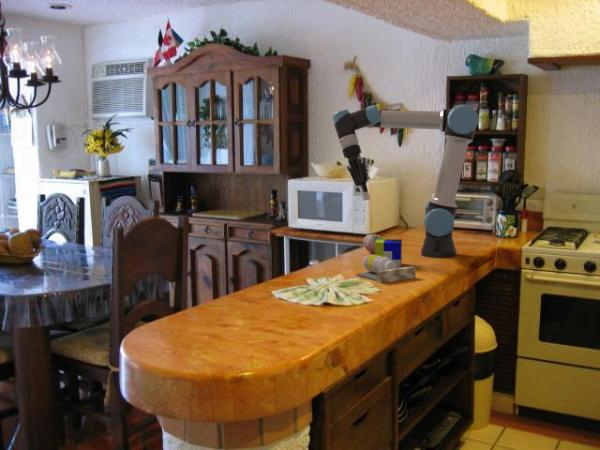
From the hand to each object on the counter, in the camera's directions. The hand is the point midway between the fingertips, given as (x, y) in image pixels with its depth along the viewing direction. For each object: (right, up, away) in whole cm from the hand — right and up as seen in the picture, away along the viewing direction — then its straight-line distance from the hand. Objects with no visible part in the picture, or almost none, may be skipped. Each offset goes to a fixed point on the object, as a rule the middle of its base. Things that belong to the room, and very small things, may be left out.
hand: (366, 199), depth 258 cm
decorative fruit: (+5, -24, +19) cm, 31 cm away
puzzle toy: (+8, -27, -9) cm, 30 cm away
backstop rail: (+7, -30, -38) cm, 49 cm away
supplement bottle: (-2, -25, -24) cm, 35 cm away
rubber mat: (+2, -29, -31) cm, 43 cm away
